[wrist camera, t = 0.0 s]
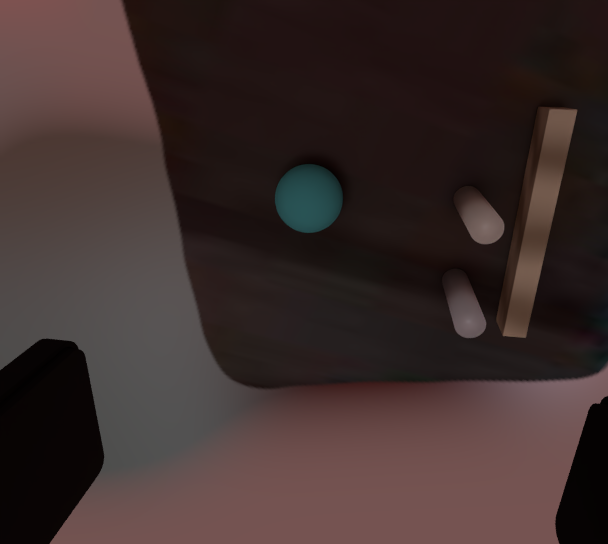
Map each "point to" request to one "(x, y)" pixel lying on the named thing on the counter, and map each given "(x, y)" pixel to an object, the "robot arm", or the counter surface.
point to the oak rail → (534, 217)
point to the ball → (308, 198)
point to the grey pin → (463, 304)
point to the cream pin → (478, 215)
